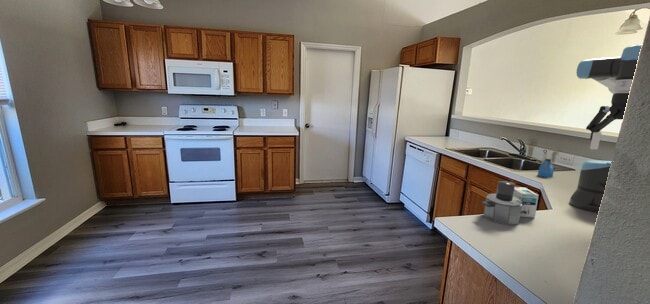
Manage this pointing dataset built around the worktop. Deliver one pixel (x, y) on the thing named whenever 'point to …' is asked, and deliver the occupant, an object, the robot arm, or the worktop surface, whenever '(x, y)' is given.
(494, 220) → the pot
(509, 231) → the worktop surface
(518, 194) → the light bulb box
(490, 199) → the lid
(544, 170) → the perfume bottle
